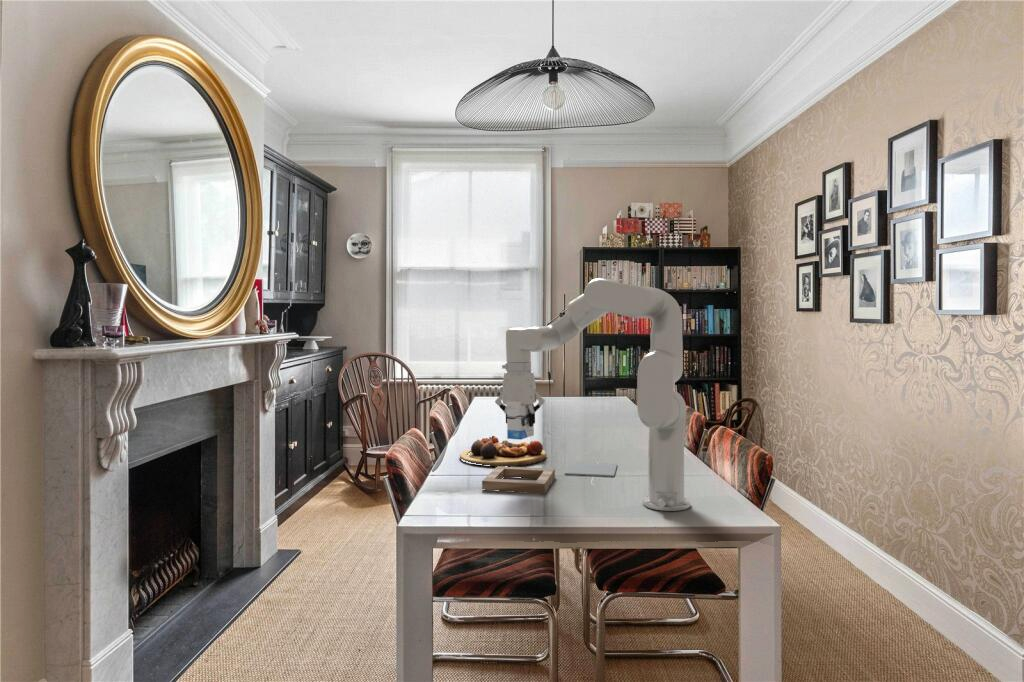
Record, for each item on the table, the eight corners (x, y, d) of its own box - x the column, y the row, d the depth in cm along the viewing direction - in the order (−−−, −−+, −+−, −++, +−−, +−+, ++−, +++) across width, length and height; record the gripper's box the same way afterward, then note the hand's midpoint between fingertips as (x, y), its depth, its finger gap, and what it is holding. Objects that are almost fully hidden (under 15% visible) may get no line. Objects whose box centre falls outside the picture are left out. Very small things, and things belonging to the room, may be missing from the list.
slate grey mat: (613, 477, 206) (614, 475, 206) (564, 474, 209) (564, 473, 209) (617, 465, 221) (617, 463, 221) (571, 463, 225) (571, 462, 225)
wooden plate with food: (562, 455, 239) (562, 433, 239) (513, 472, 213) (512, 447, 213) (494, 448, 258) (494, 427, 258) (441, 462, 232) (441, 439, 232)
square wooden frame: (544, 494, 187) (544, 483, 187) (482, 490, 191) (482, 480, 191) (554, 477, 205) (554, 468, 205) (497, 475, 210) (497, 466, 209)
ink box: (520, 440, 192) (519, 401, 192) (506, 439, 195) (505, 400, 195) (534, 435, 200) (533, 397, 199) (521, 434, 202) (520, 397, 202)
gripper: (488, 369, 195) (490, 427, 196) (544, 368, 191) (546, 428, 192) (494, 367, 202) (496, 423, 203) (548, 366, 199) (550, 424, 199)
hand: (520, 425), depth 197 cm, fingers closed on ink box, 6 cm apart
